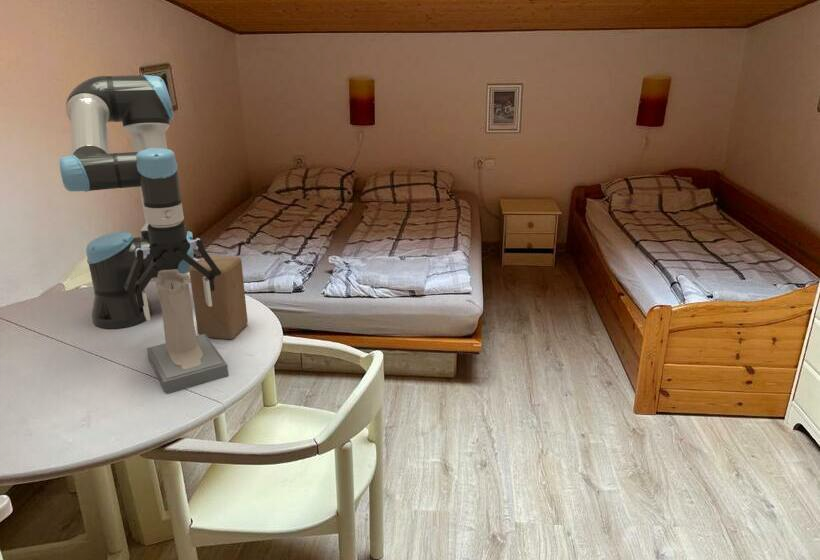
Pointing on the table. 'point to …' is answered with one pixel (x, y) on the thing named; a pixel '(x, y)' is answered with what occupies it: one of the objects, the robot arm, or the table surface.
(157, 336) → the table surface
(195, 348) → the candle
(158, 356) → the grey flat block
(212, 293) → the wooden block
